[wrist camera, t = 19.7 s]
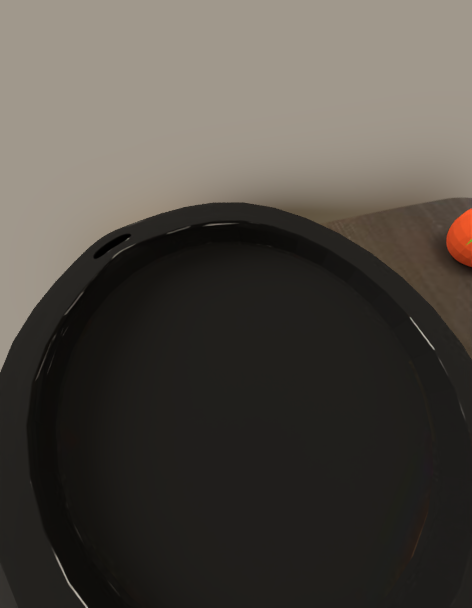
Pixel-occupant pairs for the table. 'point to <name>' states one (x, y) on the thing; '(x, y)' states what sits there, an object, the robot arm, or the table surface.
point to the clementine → (461, 239)
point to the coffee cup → (235, 426)
